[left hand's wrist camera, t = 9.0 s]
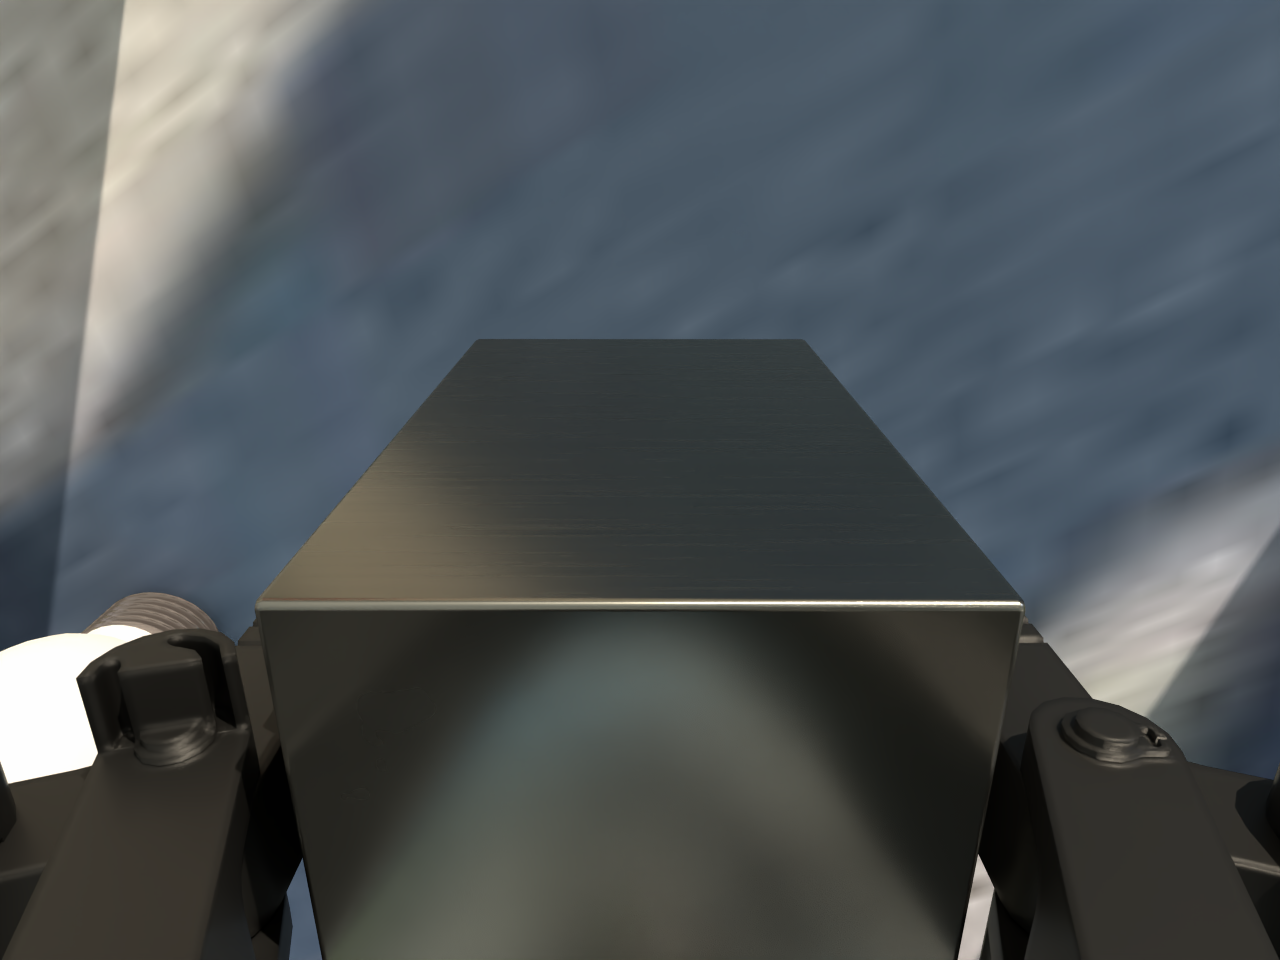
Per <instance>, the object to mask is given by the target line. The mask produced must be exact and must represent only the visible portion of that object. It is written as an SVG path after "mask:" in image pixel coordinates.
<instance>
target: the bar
mask: <svg viewBox="0 0 1280 960" xmlns="http://www.w3.org/2000/svg"><path fill="white" fill-rule="evenodd" d="M255 613H256V619H257V624H258V629H259V634H260V639H261V644H262V650H263V655H264V660H265V665H266V670H267V675H268V681H269V686H270V691H271V696H272V701H273V707H274V712H275V717H276V722H277V727H278V732H279V738H280V743H281V748H282V753H283V758H284V763H285V769H286V774H287V779H288V784H289V789H290V795H291V800H292V805H293V810H294V815H295V820H296V826H297V831H298V836H299V841H300V846H301V851H302V857H303V862H304V867H305V872H306V877H307V882H308V888H309V893H310V898H311V903H312V908H313V914H314V919H315V924H316V929H317V934H318V939H319V945H320V950H321V955H322V960H958V955H959V950H960V944H961V939H962V934H963V929H964V924H965V919H966V914H967V908H968V903H969V898H970V893H971V888H972V883H973V877H974V872H975V867H976V862H977V857H978V852H979V847H980V841H981V836H982V831H983V826H984V821H985V816H986V810H987V805H988V800H989V795H990V790H991V785H992V780H993V774H994V769H995V764H996V759H997V754H998V749H999V743H1000V738H1001V733H1002V728H1003V723H1004V718H1005V713H1006V707H1007V702H1008V697H1009V692H1010V687H1011V682H1012V676H1013V671H1014V666H1015V661H1016V656H1017V651H1018V646H1019V640H1020V635H1021V630H1022V625H1023V620H1024V615H1025V605H1024V601H1023V600H1022V598H1021V597H1020V596H1019V595H1018V594H1017V592H1016V591H1015V590H1014V589H1013V588H1012V586H1011V585H1010V584H1009V583H1008V582H1007V581H1006V579H1005V578H1004V577H1003V576H1002V575H1001V573H1000V572H999V571H998V570H997V569H996V567H995V566H994V565H993V564H992V563H991V561H990V560H989V559H988V558H987V557H986V556H985V554H984V553H983V552H982V551H981V550H980V548H979V547H978V546H977V545H976V544H975V542H974V541H973V540H972V539H971V538H970V537H969V535H968V534H967V533H966V532H965V531H964V529H963V528H962V527H961V526H960V525H959V523H958V522H957V521H956V520H955V519H954V517H953V516H952V515H951V514H950V513H949V512H948V510H947V509H946V508H945V507H944V506H943V504H942V503H941V502H940V501H939V500H938V498H937V497H936V496H935V495H934V494H933V492H932V491H931V490H930V489H929V488H928V487H927V485H926V484H925V483H924V482H923V481H922V479H921V478H920V477H919V476H918V475H917V473H916V472H915V471H914V470H913V469H912V467H911V466H910V465H909V464H908V463H907V462H906V460H905V459H904V458H903V457H902V456H901V454H900V453H899V452H898V451H897V450H896V448H895V447H894V446H893V445H892V444H891V442H890V441H889V440H888V439H887V438H886V437H885V435H884V434H883V433H882V432H881V431H880V429H879V428H878V427H877V426H876V425H875V423H874V422H873V421H872V420H871V419H870V417H869V416H868V415H867V414H866V413H865V412H864V410H863V409H862V408H861V407H860V406H859V404H858V403H857V402H856V401H855V400H854V398H853V397H852V396H851V395H850V394H849V392H848V391H847V390H846V389H845V388H844V387H843V385H842V384H841V383H840V382H839V381H838V379H837V378H836V377H835V376H834V375H833V373H832V372H831V371H830V370H829V369H828V367H827V366H826V365H825V364H824V363H823V362H822V360H821V359H820V358H819V357H818V356H817V354H816V353H815V352H814V351H813V350H812V348H811V347H810V346H809V345H808V344H807V342H806V341H805V340H802V339H478V340H476V341H475V342H474V344H473V345H472V346H471V347H470V348H469V349H468V351H467V352H466V353H465V354H464V355H463V357H462V358H461V359H460V360H459V361H458V363H457V364H456V365H455V366H454V367H453V368H452V370H451V371H450V372H449V373H448V374H447V376H446V377H445V378H444V379H443V380H442V381H441V383H440V384H439V385H438V386H437V387H436V389H435V390H434V391H433V392H432V393H431V394H430V396H429V397H428V398H427V399H426V400H425V402H424V403H423V404H422V405H421V406H420V407H419V409H418V410H417V411H416V412H415V413H414V415H413V416H412V417H411V418H410V419H409V420H408V422H407V423H406V424H405V425H404V426H403V428H402V429H401V430H400V431H399V432H398V434H397V435H396V436H395V437H394V438H393V439H392V441H391V442H390V443H389V444H388V445H387V447H386V448H385V449H384V450H383V451H382V452H381V454H380V455H379V456H378V457H377V458H376V460H375V461H374V462H373V463H372V464H371V465H370V467H369V468H368V469H367V470H366V471H365V473H364V474H363V475H362V476H361V477H360V478H359V480H358V481H357V482H356V483H355V484H354V486H353V487H352V488H351V489H350V490H349V491H348V493H347V494H346V495H345V496H344V497H343V499H342V500H341V501H340V502H339V503H338V504H337V506H336V507H335V508H334V509H333V510H332V512H331V513H330V514H329V515H328V516H327V518H326V519H325V520H324V521H323V522H322V523H321V525H320V526H319V527H318V528H317V529H316V531H315V532H314V533H313V534H312V535H311V536H310V538H309V539H308V540H307V541H306V542H305V544H304V545H303V546H302V547H301V548H300V549H299V551H298V552H297V553H296V554H295V555H294V557H293V558H292V559H291V560H290V561H289V562H288V564H287V565H286V566H285V567H284V568H283V570H282V571H281V572H280V573H279V574H278V575H277V577H276V578H275V579H274V580H273V581H272V583H271V584H270V585H269V586H268V587H267V588H266V590H265V591H264V592H263V593H262V594H261V596H260V597H259V598H258V599H257V601H256V604H255Z"/></svg>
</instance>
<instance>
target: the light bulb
mask: <svg viewBox="0 0 1280 960" xmlns="http://www.w3.org/2000/svg"><path fill="white" fill-rule="evenodd" d="M195 628H201V629H206V630H211V631H216V632H218V629H217V627H216V625H215V624H214V622H213V621H212V620H211V619H210V617H209V616H208V615H207V614H206V613H205V612H204V611H202V610H201V609H200V608H198V607H197V606H195V605H194V604H192V603H190V602H188V601H186V600H184V599H182V598H179V597H176V596H172V595H168V594H163V593H139V594H134V595H130V596H127V597H125V598H123V599H121V600H119V601H117V602H116V603H115V604H113V605H112V606H111V607H110V608H109V609H108V610H107V611H106V612H105V613H103V614H102V615H101V616H100V617H99V618H98V619H97V620H95V621H94V622H93V623H92V624H91V625H90V626H89V627H87V628H86V629H85V630H84V631H83V632H82V633H81V634H67V633H66V634H60V635H53V636H48V637H43V638H39V639H34V640H30V641H26V642H24V643H21V644H18V645H16V646H13V647H10V648H8V649H6V650H3V651H1V652H0V762H1V765H2V767H3V770H4V773H5V776H6V779H7V782H8V784H9V783H13V782H18V781H23V780H28V779H33V778H38V777H43V776H48V775H52V774H57V773H62V772H67V771H72V770H77V769H80V768H84V767H88V766H92V764H93V762H94V760H95V758H96V756H97V754H98V752H97V749H96V745H95V742H94V738H93V735H92V732H91V728H90V725H89V722H88V718H87V715H86V711H85V708H84V705H83V701H82V698H81V695H80V691H79V688H78V684H77V681H76V678H77V676H78V675H79V674H80V673H81V672H82V671H83V670H84V669H85V668H86V667H87V665H88V664H89V663H90V662H91V661H93V660H95V659H96V658H98V657H100V656H101V655H103V654H104V653H106V652H108V651H109V650H111V649H113V648H114V647H116V646H119V645H122V644H124V643H127V642H129V641H132V640H134V639H137V638H139V637H142V636H145V635H150V634H155V633H159V632H164V631H168V630H173V629H195Z"/></svg>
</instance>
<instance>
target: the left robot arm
mask: <svg viewBox="0 0 1280 960" xmlns="http://www.w3.org/2000/svg"><path fill="white" fill-rule="evenodd" d="M76 681H77V684H78V688H79V691H80V695H81V698H82V701H83V705H84V708H85V711H86V715H87V718H88V722H89V725H90V728H91V732H92V735H93V738H94V742H95V745H96V749H97V752H98V754H97V756H96V758H95V760H94V762H93V764H92V766H88V767H84V768H80V769H77V770H72V771H67V772H62V773H57V774H52V775H48V776H43V777H38V778H33V779H28V780H23V781H18V782H13V783H9V784H8V782H7V779H6V776H5V773H4V770H3V767H2V765H1V762H0V960H289V954H290V945H291V936H292V927H293V926H292V919H291V913H290V907H289V902H288V897H287V889H288V887H289V885H290V883H291V881H292V879H293V877H294V875H295V872H296V870H297V868H298V866H299V864H300V862H301V860H302V858H303V857H302V851H301V846H300V841H299V836H298V831H297V826H296V820H295V815H294V810H293V805H292V800H291V795H290V789H289V784H288V779H287V774H286V769H285V763H284V758H283V753H282V748H281V743H280V738H279V732H278V727H277V722H276V717H275V712H274V707H273V701H272V696H271V691H270V686H269V681H268V675H267V670H266V665H265V660H264V655H263V650H262V644H261V639H260V634H259V629H258V624H257V619H255V621H254V622H253V627H249V628H248V629H247V631H246V632H245V633H244V634H243V635H242V637H241V638H240V639H239V640H238V646H235V644H234V642H233V641H232V640H231V639H229V638H228V637H227V636H225V635H224V634H223V633H221V632H216V631H211V630H206V629H201V628H195V629H173V630H168V631H164V632H159V633H155V634H150V635H145V636H142V637H139V638H137V639H134V640H132V641H129V642H127V643H124V644H122V645H119V646H116V647H114V648H113V649H111V650H109V651H108V652H106V653H104V654H103V655H101V656H100V657H98V658H96V659H95V660H93V661H91V662H90V663H89V664H88V665H87V667H86V668H85V669H84V670H83V671H82V672H81V673H80V674H79V675H78V676H77V678H76ZM978 854H979V856H980V858H981V860H982V863H983V865H984V867H985V869H986V871H987V873H988V875H989V877H990V879H991V882H992V884H993V886H994V892H993V897H992V902H991V907H990V912H989V916H988V921H987V926H986V931H985V935H984V940H983V945H982V950H981V954H980V959H979V960H1280V764H1279V767H1278V770H1277V773H1276V775H1275V778H1274V780H1271V779H1266V778H1261V777H1256V776H1251V775H1246V774H1241V773H1237V772H1232V771H1227V770H1222V769H1217V768H1212V767H1207V766H1203V765H1199V764H1195V763H1192V762H1188V761H1186V758H1185V756H1184V754H1183V752H1182V751H1181V749H1180V748H1179V747H1178V745H1177V744H1176V743H1175V742H1174V740H1173V739H1172V738H1171V736H1170V735H1169V734H1168V733H1167V732H1165V731H1164V730H1162V729H1161V728H1160V727H1158V726H1157V725H1156V724H1154V723H1153V722H1151V721H1150V720H1149V719H1147V718H1146V717H1143V716H1141V715H1139V714H1137V713H1135V712H1132V711H1130V710H1128V709H1126V708H1123V707H1121V706H1119V705H1115V704H1111V703H1107V702H1103V701H1099V700H1095V699H1092V697H1091V696H1090V695H1089V694H1088V693H1087V691H1086V690H1085V689H1084V688H1083V686H1082V685H1081V684H1080V683H1079V681H1078V680H1077V679H1076V678H1075V677H1074V675H1073V674H1072V673H1071V672H1070V670H1069V669H1068V668H1067V667H1066V665H1065V664H1064V663H1063V662H1062V661H1061V659H1060V658H1059V657H1058V656H1057V654H1056V653H1055V652H1054V651H1053V649H1052V648H1051V647H1050V646H1049V644H1048V643H1044V642H1043V637H1042V636H1041V635H1040V633H1039V632H1038V631H1037V630H1036V628H1035V627H1034V626H1033V625H1032V624H1028V619H1027V617H1026V616H1025V615H1024V620H1023V625H1022V630H1021V635H1020V640H1019V646H1018V651H1017V656H1016V661H1015V666H1014V671H1013V676H1012V682H1011V687H1010V692H1009V697H1008V702H1007V707H1006V713H1005V718H1004V723H1003V728H1002V733H1001V738H1000V743H999V749H998V754H997V759H996V764H995V769H994V774H993V780H992V785H991V790H990V795H989V800H988V805H987V810H986V816H985V821H984V826H983V831H982V836H981V841H980V847H979V852H978Z"/></svg>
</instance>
